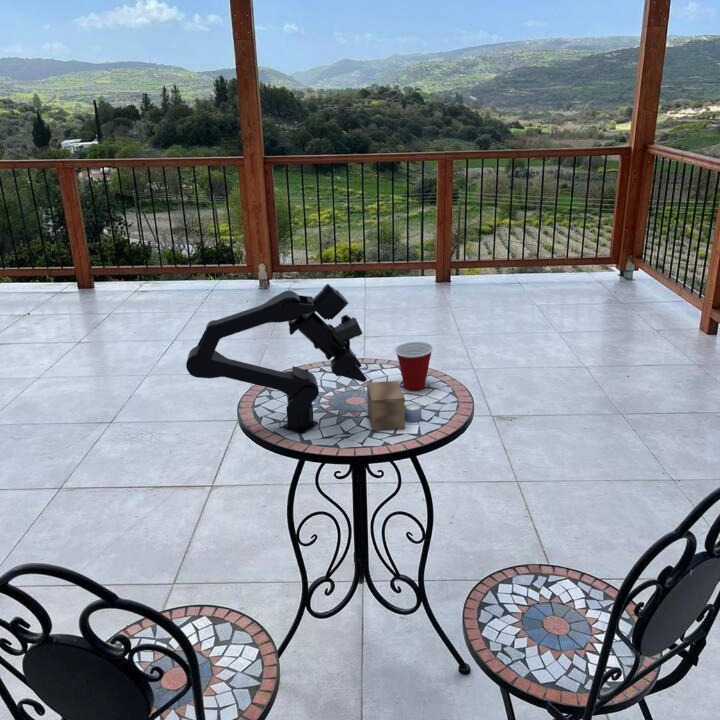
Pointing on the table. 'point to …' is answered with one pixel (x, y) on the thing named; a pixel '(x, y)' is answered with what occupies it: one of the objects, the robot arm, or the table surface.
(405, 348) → the plastic cup
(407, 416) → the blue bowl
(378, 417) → the brown box
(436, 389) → the table surface
